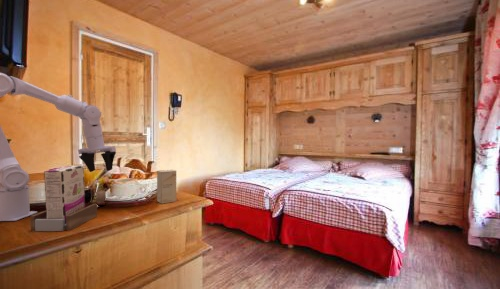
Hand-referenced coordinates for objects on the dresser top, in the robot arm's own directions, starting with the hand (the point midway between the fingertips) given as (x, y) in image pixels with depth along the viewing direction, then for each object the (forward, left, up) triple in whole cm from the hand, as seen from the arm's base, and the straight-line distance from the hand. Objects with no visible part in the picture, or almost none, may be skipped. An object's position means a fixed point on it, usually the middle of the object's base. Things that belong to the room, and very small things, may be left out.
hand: (101, 170), depth 95 cm
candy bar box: (+4, -24, -12) cm, 27 cm away
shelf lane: (+4, -24, -12) cm, 27 cm away
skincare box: (+26, -1, -12) cm, 29 cm away
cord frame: (+4, -18, -12) cm, 22 cm away
